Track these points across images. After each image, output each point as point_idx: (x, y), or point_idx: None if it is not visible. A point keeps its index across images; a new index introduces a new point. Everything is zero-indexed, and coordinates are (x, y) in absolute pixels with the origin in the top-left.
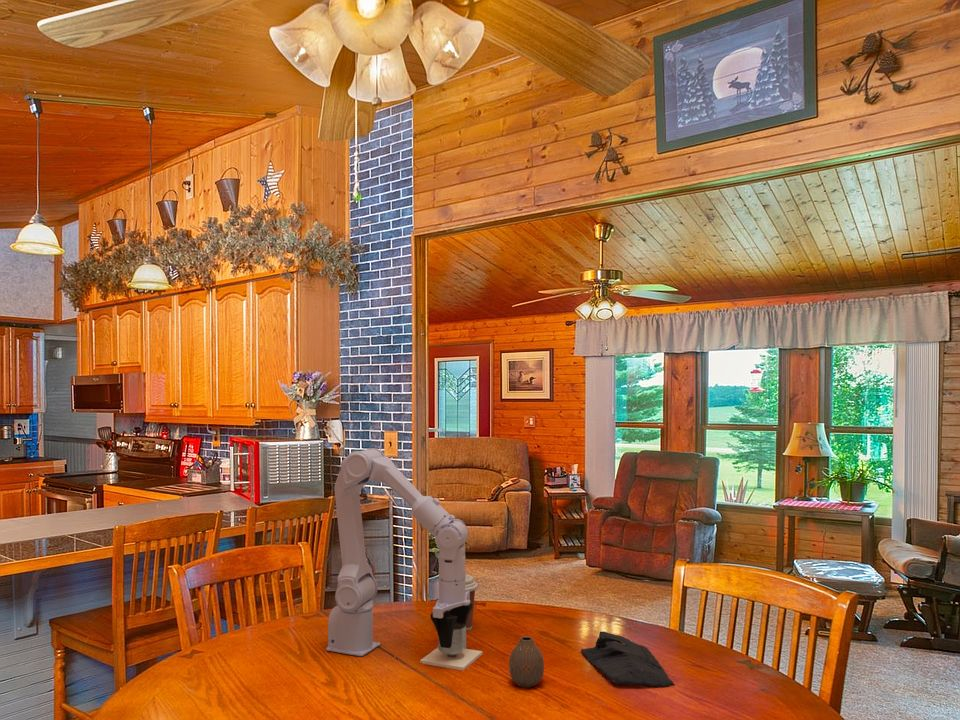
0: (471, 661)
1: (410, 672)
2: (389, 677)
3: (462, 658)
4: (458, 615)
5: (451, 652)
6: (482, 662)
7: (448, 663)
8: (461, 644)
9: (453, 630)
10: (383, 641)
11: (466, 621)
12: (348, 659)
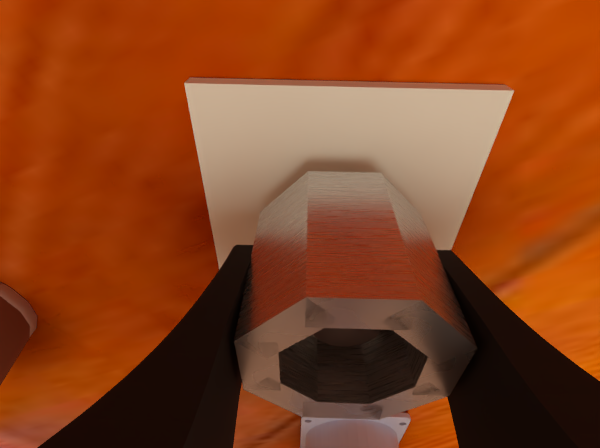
0: (378, 86)
1: (531, 289)
2: (582, 323)
3: (355, 155)
4: (220, 425)
5: (423, 223)
6: (329, 13)
7: (449, 195)
8: (392, 208)
9: (467, 338)
10: (268, 410)
11: (179, 327)
12: (430, 422)
